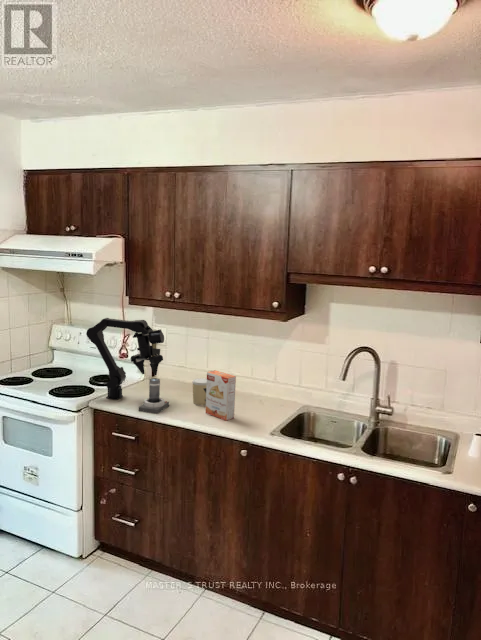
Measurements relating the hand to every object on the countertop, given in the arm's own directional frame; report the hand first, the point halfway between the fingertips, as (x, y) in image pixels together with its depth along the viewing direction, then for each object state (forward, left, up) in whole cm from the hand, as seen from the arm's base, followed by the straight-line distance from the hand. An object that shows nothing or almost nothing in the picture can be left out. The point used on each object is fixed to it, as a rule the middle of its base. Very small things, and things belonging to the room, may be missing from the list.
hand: (149, 374), depth 264 cm
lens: (+8, -10, -12) cm, 17 cm away
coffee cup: (+26, +7, -14) cm, 30 cm away
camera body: (+8, -10, -14) cm, 19 cm away
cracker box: (+41, -7, -14) cm, 44 cm away
